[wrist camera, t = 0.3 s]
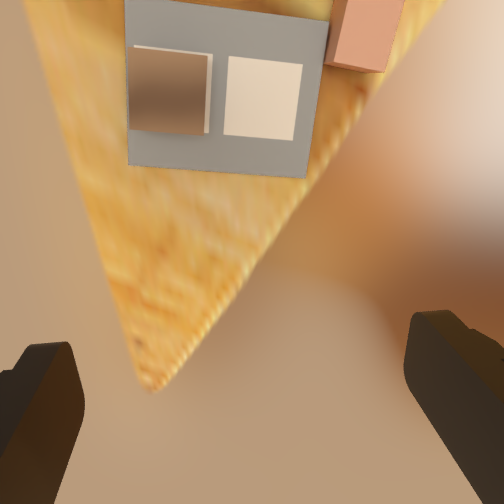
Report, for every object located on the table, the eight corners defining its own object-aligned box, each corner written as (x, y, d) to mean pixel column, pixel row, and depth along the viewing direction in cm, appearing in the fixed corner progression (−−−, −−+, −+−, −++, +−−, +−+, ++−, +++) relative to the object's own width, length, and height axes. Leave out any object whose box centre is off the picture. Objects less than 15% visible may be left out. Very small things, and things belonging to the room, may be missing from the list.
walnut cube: (139, 51, 29) (127, 46, 25) (207, 59, 30) (207, 55, 25) (140, 122, 31) (129, 129, 27) (203, 127, 32) (203, 135, 27)
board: (127, -3, 29) (124, -6, 28) (324, 23, 31) (329, 21, 30) (130, 162, 34) (128, 165, 32) (302, 175, 36) (305, 178, 35)
